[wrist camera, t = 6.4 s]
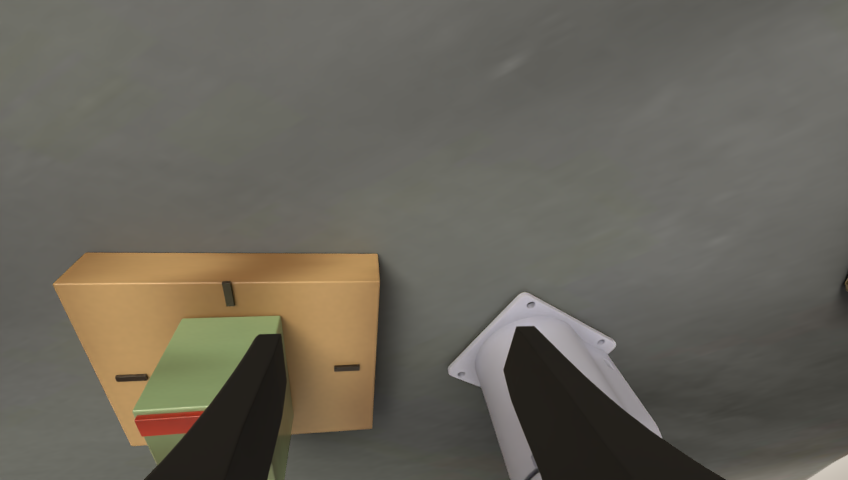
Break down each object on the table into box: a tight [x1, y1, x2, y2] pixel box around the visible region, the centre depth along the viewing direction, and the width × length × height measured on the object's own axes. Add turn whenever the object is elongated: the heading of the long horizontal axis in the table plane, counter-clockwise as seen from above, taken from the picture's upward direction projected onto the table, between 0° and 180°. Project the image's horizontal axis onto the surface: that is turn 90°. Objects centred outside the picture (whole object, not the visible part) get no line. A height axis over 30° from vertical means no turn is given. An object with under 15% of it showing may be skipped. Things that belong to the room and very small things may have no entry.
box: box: [132, 316, 294, 480], centre depth 19 cm, size 8×4×5 cm, turn 175°
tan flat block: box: [53, 253, 380, 446], centre depth 22 cm, size 14×12×3 cm
